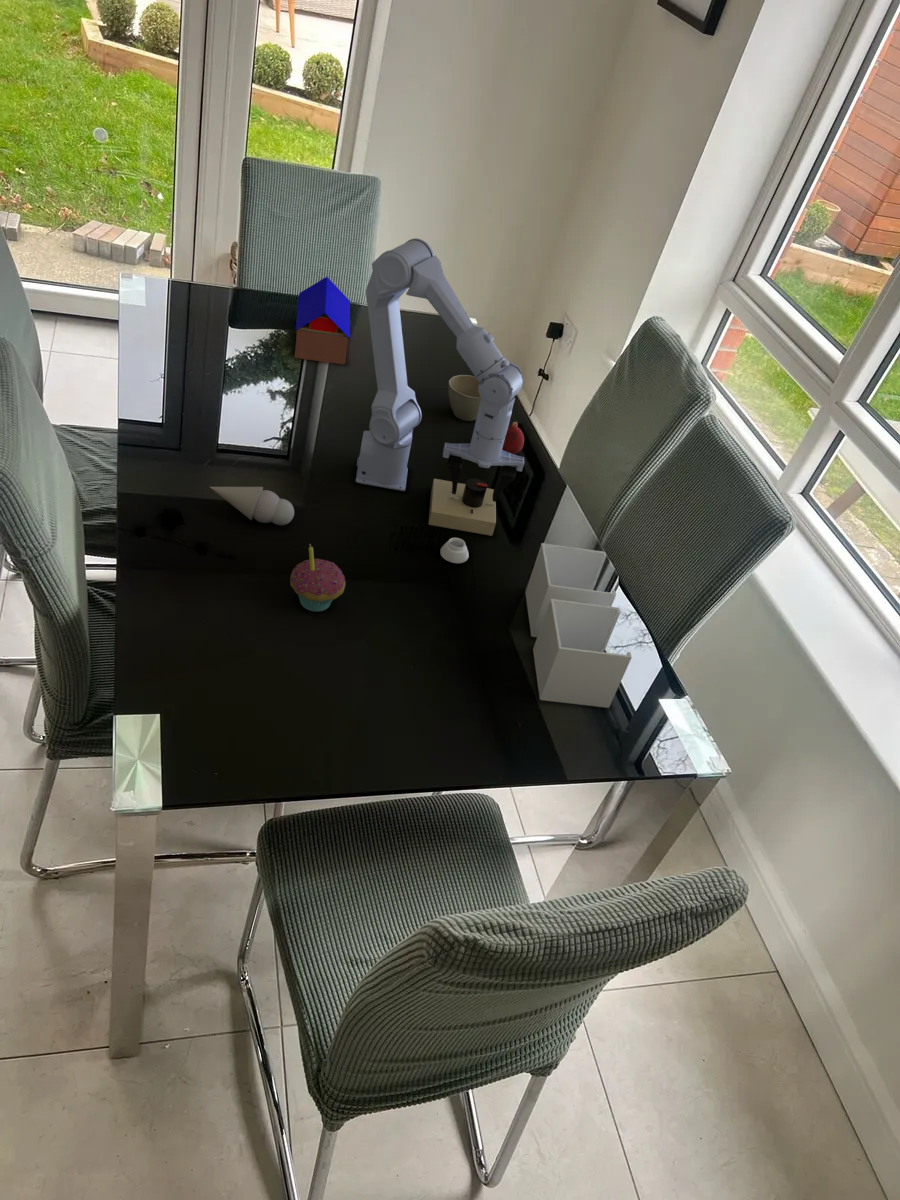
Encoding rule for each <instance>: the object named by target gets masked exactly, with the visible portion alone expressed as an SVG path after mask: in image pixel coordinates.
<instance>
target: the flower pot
mask: <svg viewBox="0 0 900 1200" xmlns="http://www.w3.org/2000/svg"><path fill="white" fill-rule="evenodd" d="M479 384H480V382H479V381H478V380H477V378H476V377H475V376H474V375H469V374H459V375H454V376H452V377H451V378H449V380H448V388H447V389H448V399H449V404H450V407H451V410H452V413H453V414H454V416H455V417H456V418H457V419H459V420H461V421H465V422H472V421H476V419H477V414H478V410H479V406H480V403H481V397H480V394H479Z"/></svg>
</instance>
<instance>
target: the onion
mask: <svg viewBox="0 0 900 1200" xmlns="http://www.w3.org/2000/svg"><path fill="white" fill-rule="evenodd" d="M524 444H525V435H524V433H523V431H522V429H521V428H520V427H519V424H518V422H517V421H513V422H512V423H511V424H509V425H508V429H507V433H506V436H505V440H504V444H503V448H502V450H503V451H506V452H508V453H511V454H514V455H517V454H518V453H519V452H521V451H522V449H523V448H524Z"/></svg>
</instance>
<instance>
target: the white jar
mask: <svg viewBox="0 0 900 1200" xmlns="http://www.w3.org/2000/svg"><path fill="white" fill-rule="evenodd" d="M439 550H440V551H439V552H440V556H441V557H442V558H443V560H445V561H447V562H450V563H453V564H464V563H465V562H467V561H468V559H469V557H470V556H469V550H468V546H467V545H466V541H465V540H463V539H462V538H459V537H451V538H449V539H448V540H447V541H446V542H445V543H444V544H443V545H442V546H441V548H440V549H439Z"/></svg>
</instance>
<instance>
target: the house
mask: <svg viewBox="0 0 900 1200" xmlns="http://www.w3.org/2000/svg"><path fill="white" fill-rule="evenodd" d="M295 331H296V336H295V337H296V338H295V350H294V359H300V360H307V361H315V362H322V363H329V364H336V365H343V366H344V365H346V361H347V352H348V344H349V339H351V300H350V299H349V298H348V297H347V296H346V295H345V294H344V293H343V292H342V291H341V290H340V288H339V287H338V286H337V285H336V284H335V283H334V282H333V281H332V280H331V279H330V278H329V277H328V276H325V277H324V278H322V279H320V280H319V281H317V282H315V283H313V284H312V285H310V286H309V287H306V288H305V289H304V290H302V291H300V292H299V293H298V302H297V311H296V321H295Z"/></svg>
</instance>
